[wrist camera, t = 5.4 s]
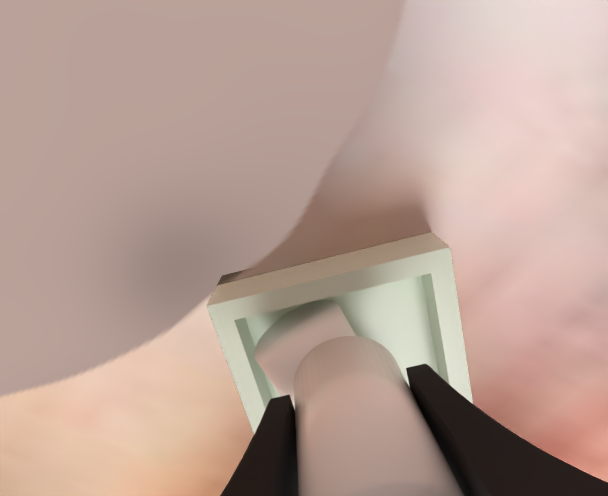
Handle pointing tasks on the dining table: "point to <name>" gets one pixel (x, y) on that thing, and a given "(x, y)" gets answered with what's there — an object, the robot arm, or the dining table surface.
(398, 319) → the tray
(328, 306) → the pale pink rounded cylinder
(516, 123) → the dining table surface
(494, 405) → the dining table surface
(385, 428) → the white rounded piece
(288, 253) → the dining table surface
